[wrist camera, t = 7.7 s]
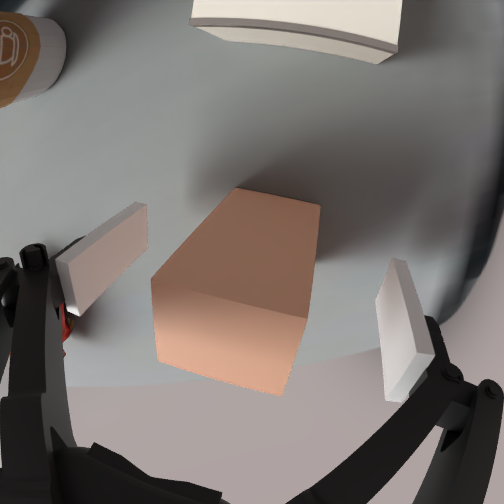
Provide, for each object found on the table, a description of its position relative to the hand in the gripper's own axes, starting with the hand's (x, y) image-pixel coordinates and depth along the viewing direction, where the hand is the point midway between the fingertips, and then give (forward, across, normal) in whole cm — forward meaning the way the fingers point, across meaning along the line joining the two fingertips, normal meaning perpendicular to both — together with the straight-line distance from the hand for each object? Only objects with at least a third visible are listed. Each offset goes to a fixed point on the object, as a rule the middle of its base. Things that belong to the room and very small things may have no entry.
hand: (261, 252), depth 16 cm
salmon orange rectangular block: (+3, 0, 0) cm, 3 cm away
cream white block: (+3, 0, +13) cm, 14 cm away
